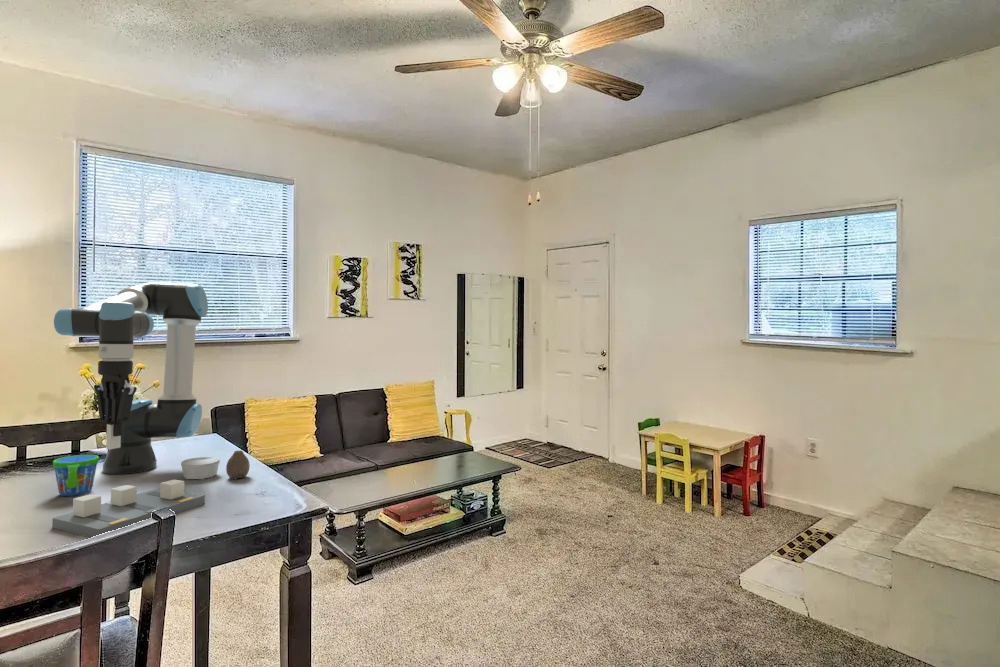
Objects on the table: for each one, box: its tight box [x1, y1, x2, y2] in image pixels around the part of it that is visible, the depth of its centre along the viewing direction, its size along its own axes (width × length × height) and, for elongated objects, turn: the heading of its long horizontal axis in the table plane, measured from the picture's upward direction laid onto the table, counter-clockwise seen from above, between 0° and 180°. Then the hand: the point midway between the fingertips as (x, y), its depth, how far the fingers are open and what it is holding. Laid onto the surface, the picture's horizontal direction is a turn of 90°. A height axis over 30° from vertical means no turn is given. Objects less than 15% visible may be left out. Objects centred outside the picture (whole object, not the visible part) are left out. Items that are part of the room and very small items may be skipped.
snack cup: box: [52, 454, 100, 497], centre depth 155 cm, size 16×10×10 cm
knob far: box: [159, 478, 185, 500], centre depth 147 cm, size 4×4×4 cm
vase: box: [225, 450, 251, 479], centre depth 175 cm, size 7×7×9 cm
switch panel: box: [51, 487, 206, 538], centre depth 139 cm, size 17×28×3 cm, turn 159°
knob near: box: [72, 493, 102, 517], centre depth 132 cm, size 4×4×4 cm
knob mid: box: [110, 484, 138, 506], centre depth 140 cm, size 4×4×4 cm
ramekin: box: [180, 456, 221, 480], centre depth 175 cm, size 11×11×5 cm
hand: (113, 448), depth 141 cm, fingers closed
